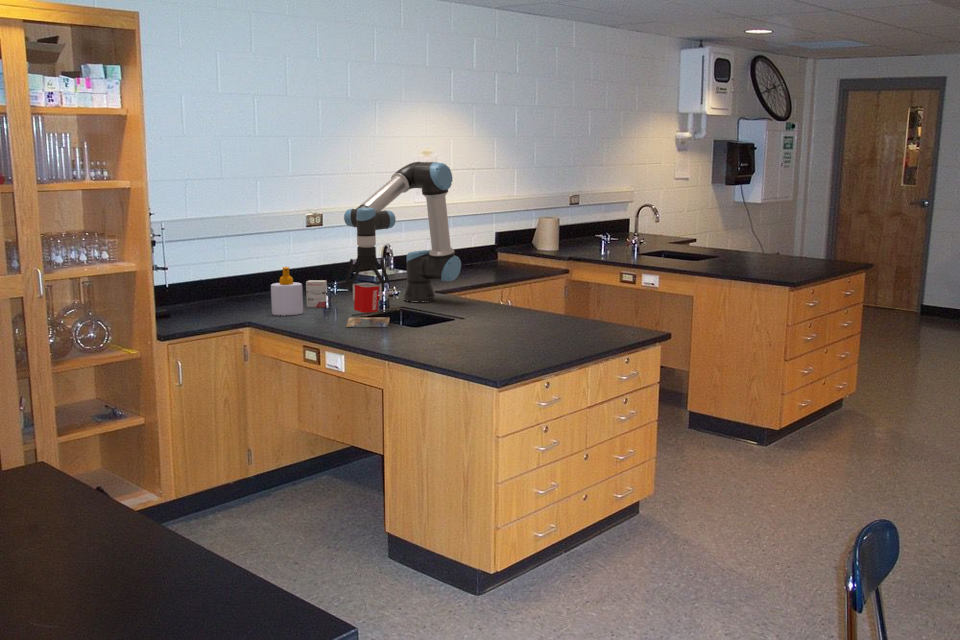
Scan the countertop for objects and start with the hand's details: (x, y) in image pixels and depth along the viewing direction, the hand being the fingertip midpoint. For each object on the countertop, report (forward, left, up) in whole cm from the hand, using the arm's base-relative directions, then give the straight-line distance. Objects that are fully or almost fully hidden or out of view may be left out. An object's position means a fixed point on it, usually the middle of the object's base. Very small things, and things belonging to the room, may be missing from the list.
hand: (367, 299), depth 385 cm
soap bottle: (+36, -21, -10) cm, 43 cm away
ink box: (+25, -37, -10) cm, 46 cm away
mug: (-1, 0, -5) cm, 5 cm away
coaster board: (0, 0, -10) cm, 10 cm away
